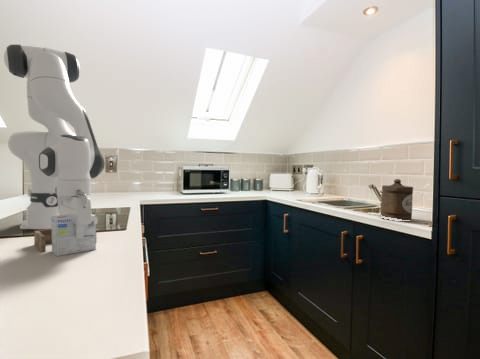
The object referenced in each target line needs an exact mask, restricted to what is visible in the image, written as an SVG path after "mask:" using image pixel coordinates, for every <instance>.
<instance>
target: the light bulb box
mask: <svg viewBox="0 0 480 359" xmlns="http://www.w3.org/2000/svg"><path fill="white" fill-rule="evenodd" d="M91 214H92V220H91V223H90V224H86V225H85V229H84V232H83V238H81V239H77V238H75V232H76V224H75V223H73V222H71V218H70V217H69V216H66V215H60V216H51V227H52V228H51V229H52V243H51V252H52V253H53V255H54V256H55V257H59V256H60V257H61V256H64V255H71V254H76V253H83V252H88V251H93V250H97V247H96V246H97V228H96V226H97V225H96V219H97V218H96V214H93V213H91Z"/></svg>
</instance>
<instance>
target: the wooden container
mask: <svg viewBox="0 0 480 359" xmlns="http://www.w3.org/2000/svg"><path fill="white" fill-rule="evenodd" d="M401 182H402V180H401V179H399V178H396V179H394V180H393V184H391V185H382V187H381V201H380V202H381V203H380V216H381V215H382V216H385V217H391V218H397V219H402V220H411V221H412V219H413V218H412V217H413V197H414V196H413V192H414V186H410V185H409V186H407V185H403V184H402V183H401Z"/></svg>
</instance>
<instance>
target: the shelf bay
mask: <svg viewBox="0 0 480 359" xmlns="http://www.w3.org/2000/svg"><path fill="white" fill-rule="evenodd" d="M33 236H34V237H33V238H34V239H33V240H34V246H35V247H36V248H37V249H38V251H40V253H45V252H46V245H47V244H52V228H51V229H37V230H34V235H33Z"/></svg>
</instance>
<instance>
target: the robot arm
mask: <svg viewBox="0 0 480 359" xmlns="http://www.w3.org/2000/svg"><path fill="white" fill-rule="evenodd" d="M3 61H4V65H5V66H6V67H7V69H8V71H9V73H10V74H11V75H13V76H15V77H19V78H22V79H24V78H26V97H27V98H26V100H27V108H28V109H27V110H28V116H29V117H30V119H31V120H33V121H34V122H36V123H38V124H40V125H42V126H44V127H45V128H46V129H47V131H46V132H45V131H31V130H26V131H24V130H23V131H16V132H14V133H12V134H11V135H10V137H9V138H8V140H7V142H8V143H7V145H8V147H7V148H8V149H9V151H10V152H11V153H12V154H13V155H14V156H15V157H17V158H18V159H19V160H21V161H22V162H23V163H24V164H25V166H26V167H27V169H28V171H29V174H30V180H31V181H30V182H31V183H30V184H31V193H30V195H29V198H30V199H29V202H30V204H29V205H28V206H27V207H26V209H24V211H22V217H23V218H24V219H23V220H22V221H21V223H20V225H19V229H20V230H46V229H52V227H51V216H60V215H66V216H69V217H70V218H71V222H73V223H75V224H76V232H75V238H77V239H81V238H83V232H84V229H85V225H86V224H90V223H91V220H92V214H93V213H92V202H91V198H90V197H88V196H90V195H92V179H95V178H97V177H98V176H99V175H101V174H102V172H103V171H104V169H105V166H106V165H105V159H104V156H103V154H102V153H101V151H100V150H101V149H99V147H98V144H97V140H96V137H95V135H94V134H95V133H94V132H93V128H92V125H91V123H90V120H89V117H88V113H87V111H86V109H85V108H84V106H83V105H81V103H79V102H78V100H77V99H76V98H75V96H74V94H73V92H72V89H71V84H70V83H75V82H76V81H78V80H79V77H80V75H81V65H80V62H79V60H78V58H77V57H76V55H75V54H72V53H69V52H68V51H60V50H57V49H53V48H48V47H39V46H32V45H31V46H30V45H21V44H9V45H8V46H6V48H5V50H4V53H3ZM66 122H67V123H68V124H69V125H70V126H71V127H72V128H73V129H74V131H75V132H73V131H72V130H71V128H70V127H69V126H68V125H67V123H66Z"/></svg>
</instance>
